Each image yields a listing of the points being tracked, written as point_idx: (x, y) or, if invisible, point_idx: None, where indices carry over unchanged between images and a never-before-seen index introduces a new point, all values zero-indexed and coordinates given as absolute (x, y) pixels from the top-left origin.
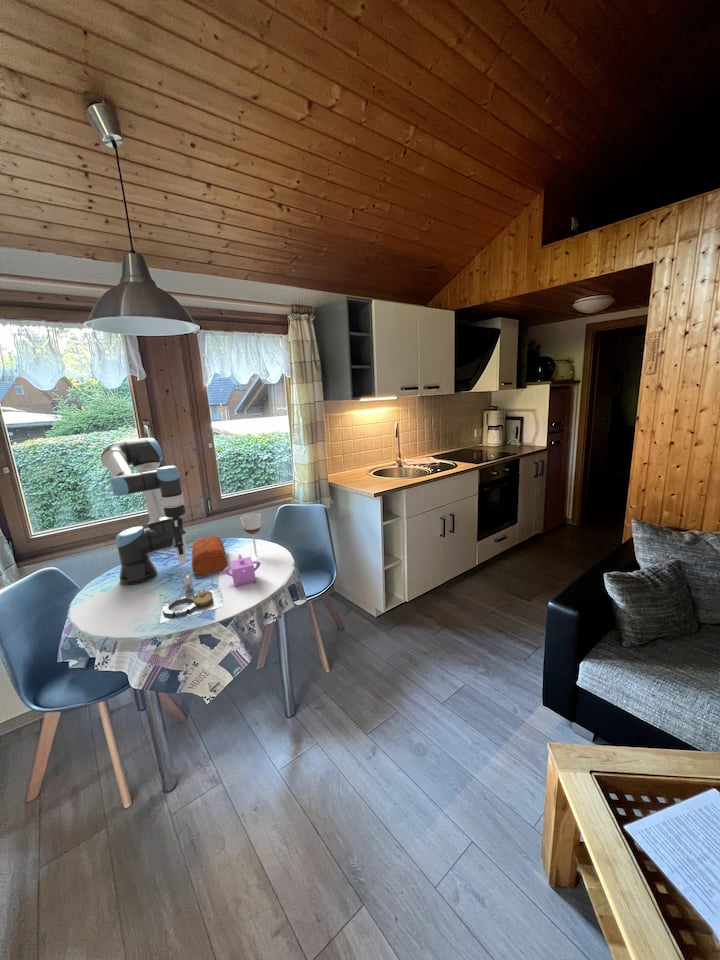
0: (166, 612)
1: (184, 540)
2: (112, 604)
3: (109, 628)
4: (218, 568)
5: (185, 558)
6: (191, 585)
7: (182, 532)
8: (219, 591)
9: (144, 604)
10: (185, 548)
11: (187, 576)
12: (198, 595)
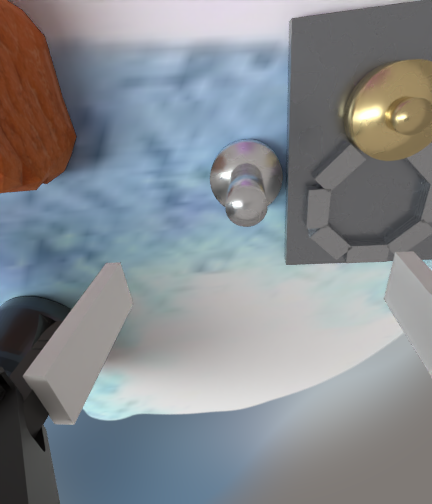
0: (405, 249)
1: (84, 325)
2: (200, 366)
3: (334, 357)
4: (32, 44)
5: (426, 270)
6: (258, 176)
7: (23, 420)
8: (328, 24)
9: (241, 305)
10: (119, 275)
11: (249, 204)
12: (381, 135)
